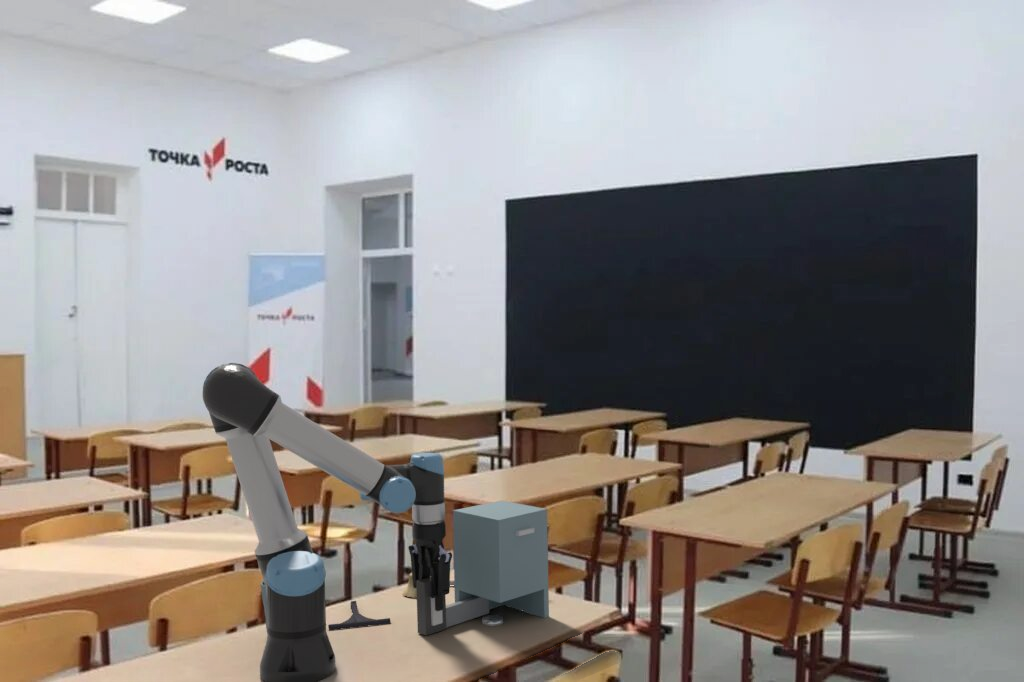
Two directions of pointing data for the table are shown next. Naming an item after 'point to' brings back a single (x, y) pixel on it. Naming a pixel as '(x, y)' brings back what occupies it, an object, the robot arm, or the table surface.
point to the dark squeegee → (358, 620)
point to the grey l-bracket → (445, 609)
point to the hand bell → (410, 584)
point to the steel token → (492, 620)
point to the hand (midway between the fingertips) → (431, 621)
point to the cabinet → (502, 555)
